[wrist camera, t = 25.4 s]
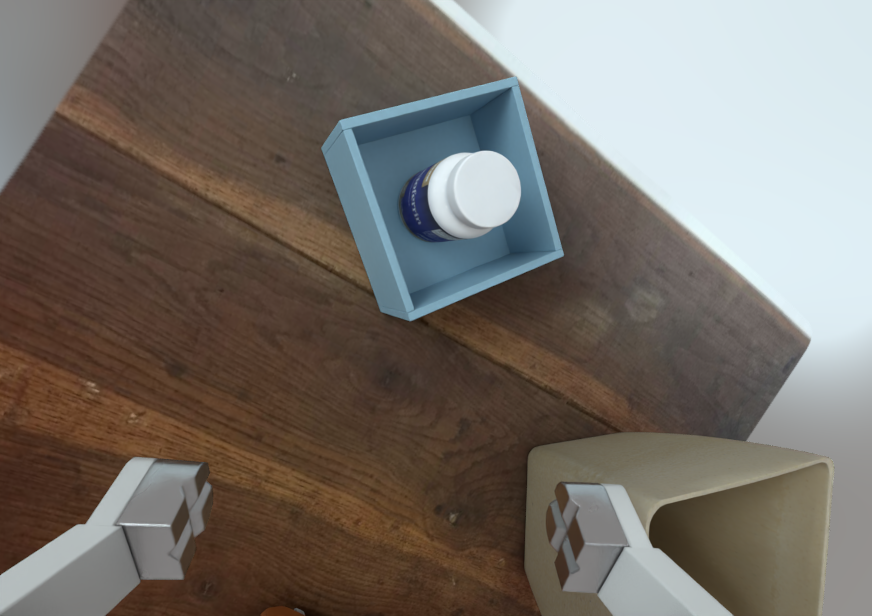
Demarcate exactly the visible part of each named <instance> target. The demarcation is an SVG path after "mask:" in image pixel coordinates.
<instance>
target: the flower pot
mask: <svg viewBox="0 0 872 616" xmlns="http://www.w3.org/2000/svg"><path fill="white" fill-rule="evenodd" d="M833 477H834V464H833V461H832V460H831V459H830V458H829V457H826V456H821V455H817V454H813V453H808V452H803V451H798V450H793V449H788V448H781V447H776V446H771V445H764V444H758V443H751V442H745V441H738V440H730V439H723V438H714V437H705V436H696V435H684V434H670V433H649V432H620V433H614V434H608V435H602V436H596V437H590V438H584V439H578V440H572V441H566V442H560V443H554V444H548V445H542V446H537V447H535V448H533V449H532V450H531V452H530V453H529V455H528V470H527V501H526V529H525V561H524V569H525V572H526V575H527V578H528V581H529V584H530V587H531V589H532V592H533V594H534V597H535V600H536V602H537V605H538V607H539V610H540V612H541V615H542V616H613V615H612V614H611V612H610V611H609V610H608V609H607V607H606V606H605V605H604V603H603V602H602V601H601V600H600V598H599V597H598V596H597V595H598V593H582V592H566V591H562V589H561V585H560V582H559V578H558V574H557V571H556V567H555V563H554V562H555V560H556V557H557V555H558V553H557V552H556V551H555V550H554V548H553V547H552V546H551V545H550V544H549V541H548V537H547V532H546V512H547V509H548V506H549V503H551V502H552V501H554V500H555V499H556V496H555V492H554V491H555V488H556V486H557V484H558V483H559V482H561V481H564V482H588V483H599V484H618V485H622V486H623V487H624V488H625V490H626V492H627V494H628V496H629V498H630V500H631V502H632V505H633V507H634V509H635V511H636V513H637V515H638V517H639V519H640V521H641V524H642V526H643V528H644V530H645V532H646V534H647V536H648V538H649V540H650V543H651V545H652V547H653V548H659V549H660V550H661V551H662V552H664V553H665V554H666V555H667V556H668V557H669V558H670V559H671V560H672V561H674V562H675V563H676V564H677V565H678V566H679V567H680V568H681V569H682V570H684V571H685V572H686V573H687V574H688V575H689V576H690V577H691V578H692V579H694V580H695V581H696V582H697V583H698V584H699V585H700V586H701V587H702V588H704V589H705V590H706V591H707V592H708V593H709V594H710V595H711V596H712V597H714V598H715V599H716V600H717V601H718V602H719V603H720V604H721V605H722V606H724V607H725V608H726V609H727V610H728V611H729V612H730V613H731V614H732V615H734V616H822V609H823V598H824V587H825V576H826V563H827V551H828V540H829V527H830V514H831V501H832V489H833Z"/></svg>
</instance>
